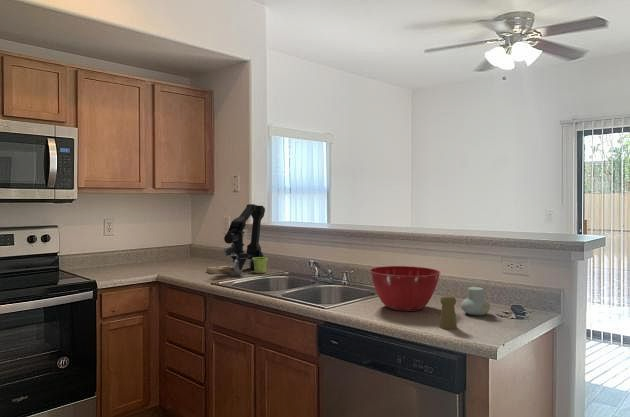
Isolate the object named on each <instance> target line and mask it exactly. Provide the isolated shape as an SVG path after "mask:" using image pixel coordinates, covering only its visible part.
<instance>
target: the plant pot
mask: <svg viewBox="0 0 630 417" xmlns="http://www.w3.org/2000/svg"><path fill="white" fill-rule="evenodd" d="M252 259H253V262H254V273H256V274H265V273H266V272H267V264H268V260H269V258H268V257H265V256H264V257H255V258H252Z"/></svg>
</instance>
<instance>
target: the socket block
mask: <svg viewBox="0 0 630 417" xmlns="http://www.w3.org/2000/svg"><path fill="white" fill-rule="evenodd" d="M233 272H234V266H232V265H224V266H223V265H222V266H207V267H206V273H208V274H211V275H216V274H217V275H219V274H229V273H233Z"/></svg>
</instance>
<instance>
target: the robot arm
mask: <svg viewBox="0 0 630 417" xmlns="http://www.w3.org/2000/svg"><path fill="white" fill-rule="evenodd" d="M265 212H266V207H264V206H263V205H258V204H255V203H253V204H251V203H248V204H247V205H246V206H245V209H243V211H241V214H240V215H239V216H238V217H236V218H234V219H232V220H231V222H230V225H229V228H228V230H227V232H226V234H225V235H224V237H223V240H224V242H225V243H226V244H228V245H230V244H231V245H230V246H229V247H226V248H224V249H222V252H223V255H224V256H225V257H226V256H228V257H230V258H231V259H232V264H234V261H235V259H237V260H238V264H239V270H242V271H243V267H244V265H245V263H246V261H247V260H249V262H248V269H249V270H253V271H255V269H254V262H253V259H252V258H257V257H265V256H264V254H263V251H262V247H261V244H260V233H261V222H262V219H263V218H265ZM250 217H251V218H252V225H251V226H252V227H251V235H250V236H251V237H250V242H249V244H247V246H246V252H245V251H244V246H245V243H244V234H245V231H244V230H245V227H246V226H247V223H246V222H247V221H248V220H249V218H250Z"/></svg>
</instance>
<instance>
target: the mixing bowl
mask: <svg viewBox="0 0 630 417" xmlns="http://www.w3.org/2000/svg"><path fill="white" fill-rule="evenodd" d="M369 272H370V275H371V280H372V283H373V286H374V289H375V291H376V293H377V296H378V297H379V300H380V301H381V302H382V303H383V305H385V307H387V308H388V309H389V310H393V311H394V310H395V311H401V312H414V311H419V310H421V309H422V308H424V307H425V306H427V305H428V303H429V302H430V300H431V298H432V297H433V296H434V293H435V290H436V288H437V285H438V281H439V277H440V275H441V270H437V269H435V268H430V267H429V268H428V267H422V266H409V265H406V266H405V265H389V266H388V265H387V266H377V267H376V266H375V267H372V268H370V269H369Z"/></svg>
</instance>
